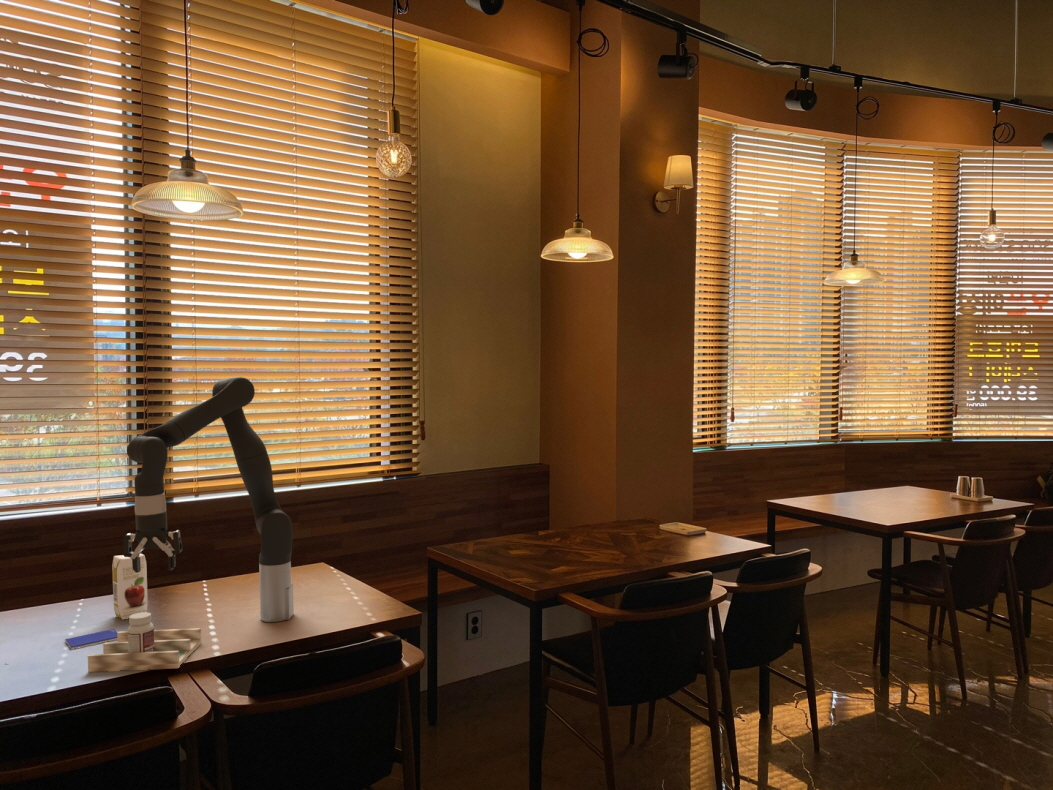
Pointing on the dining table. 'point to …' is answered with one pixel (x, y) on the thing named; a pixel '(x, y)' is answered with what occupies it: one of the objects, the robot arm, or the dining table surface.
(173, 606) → the dining table surface
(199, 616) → the dining table surface
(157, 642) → the slot rack
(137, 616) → the pill bottle
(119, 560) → the juice carton
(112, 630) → the hard drive
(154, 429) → the robot arm
